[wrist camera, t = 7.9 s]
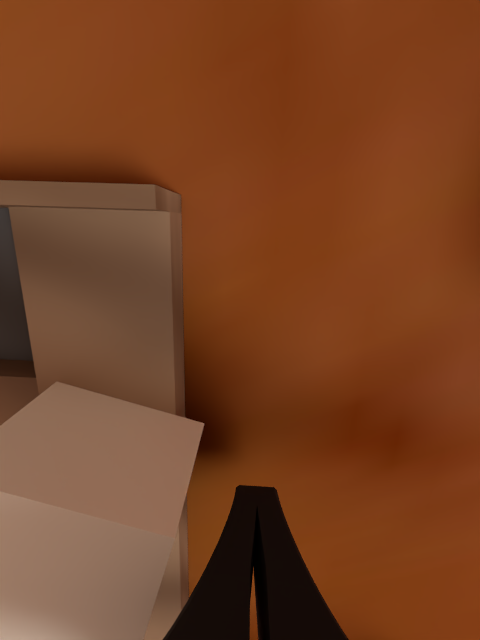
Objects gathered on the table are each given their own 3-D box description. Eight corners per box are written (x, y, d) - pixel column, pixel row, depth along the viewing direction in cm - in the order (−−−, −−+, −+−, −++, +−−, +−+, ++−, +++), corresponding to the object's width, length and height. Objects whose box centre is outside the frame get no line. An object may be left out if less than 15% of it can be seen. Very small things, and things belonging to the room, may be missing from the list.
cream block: (170, 533, 13) (129, 681, 9) (40, 498, 13) (-66, 632, 9) (204, 423, 12) (174, 538, 7) (56, 381, 12) (-63, 474, 7)
